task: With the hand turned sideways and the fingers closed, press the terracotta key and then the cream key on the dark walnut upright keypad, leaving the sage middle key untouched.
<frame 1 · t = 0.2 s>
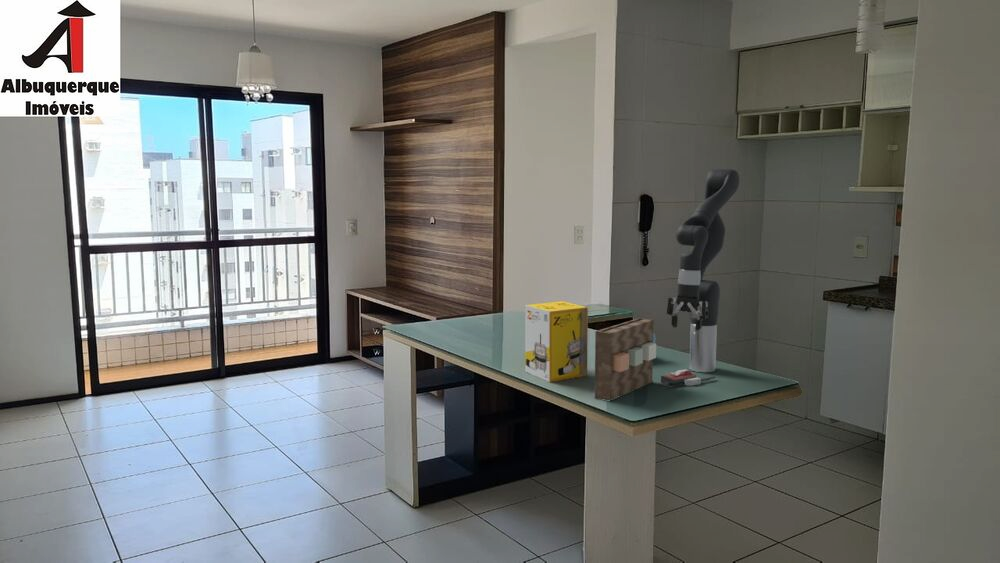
hand: (686, 328, 249), 18 cm above the table, tool pointing down, fingers open, 8 cm apart
packaging box: (555, 374, 258), on the table
terracotta key: (618, 361, 227), point 12 cm above the table, slide at 0.0 cm
decorative pot: (630, 359, 279), on the table
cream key: (646, 351, 241), point 12 cm above the table, slide at 0.0 cm
walkie-talkie: (687, 383, 246), on the table
sage key: (633, 356, 234), point 12 cm above the table, slide at 0.0 cm
keypad panel: (627, 390, 237), on the table
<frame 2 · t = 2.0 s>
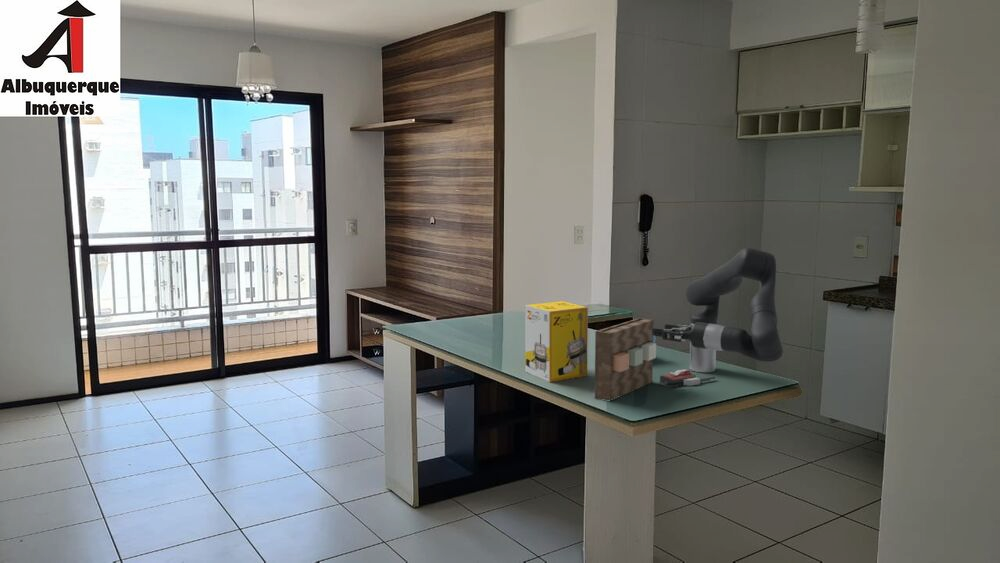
hand: (659, 329, 217), 24 cm above the table, tool horizontal, fingers open, 7 cm apart
nothing on the table moved.
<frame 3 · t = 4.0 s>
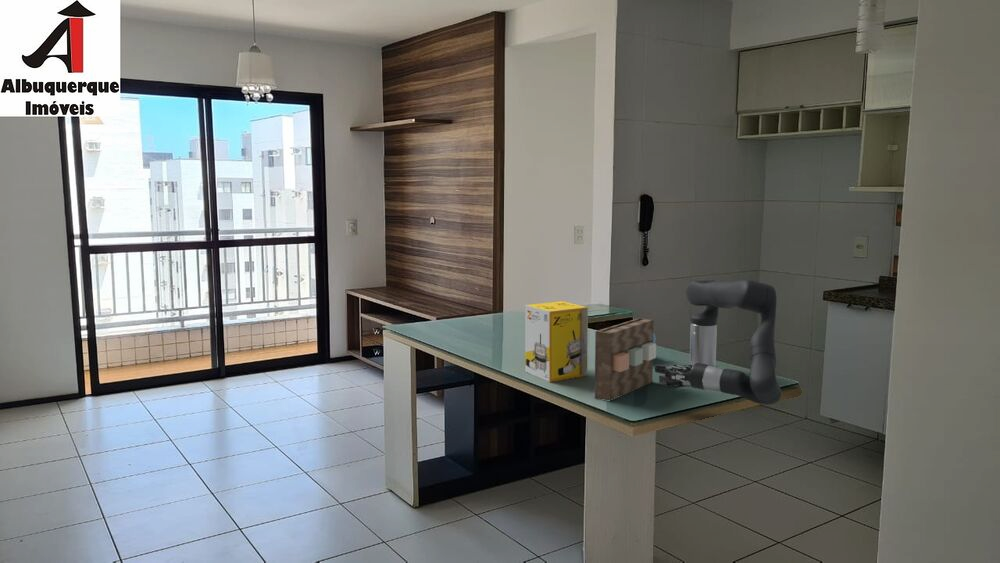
hand: (656, 368, 219), 12 cm above the table, tool horizontal, fingers closed
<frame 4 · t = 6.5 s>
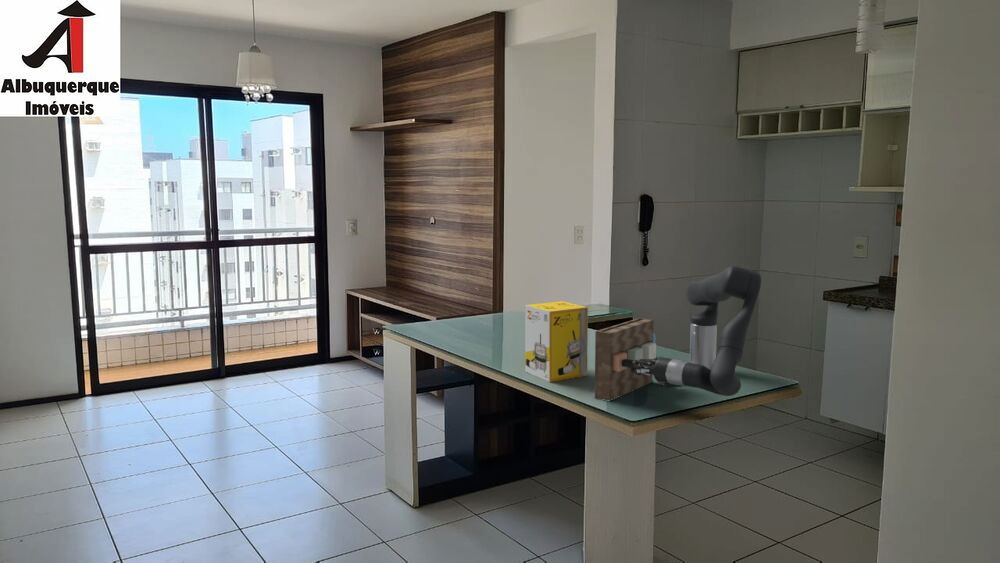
hand: (623, 362, 226), 12 cm above the table, tool horizontal, fingers closed
terracotta key: (616, 361, 228), point 12 cm above the table, slide at 0.8 cm, touching gripper
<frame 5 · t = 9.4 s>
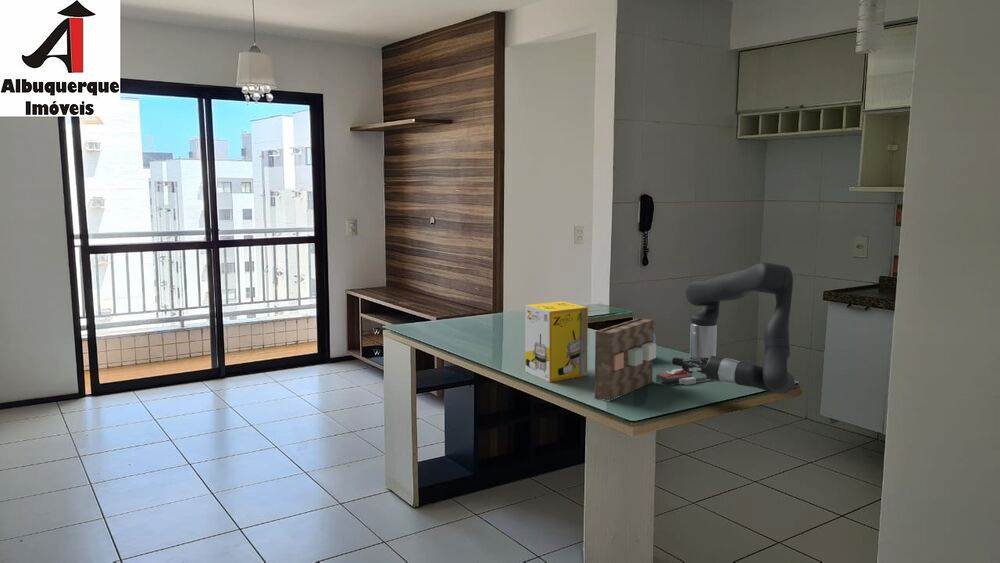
hand: (673, 360, 229), 12 cm above the table, tool horizontal, fingers closed
terracotta key: (613, 360, 229), point 12 cm above the table, slide at 2.0 cm
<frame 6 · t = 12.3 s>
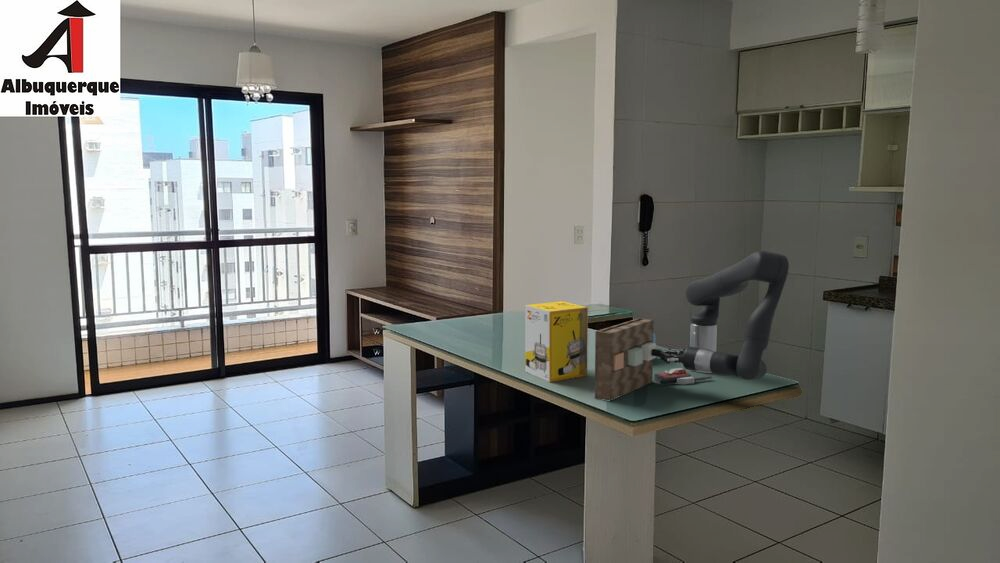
hand: (652, 352, 239), 12 cm above the table, tool horizontal, fingers closed
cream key: (646, 351, 241), point 12 cm above the table, slide at 0.0 cm, touching gripper
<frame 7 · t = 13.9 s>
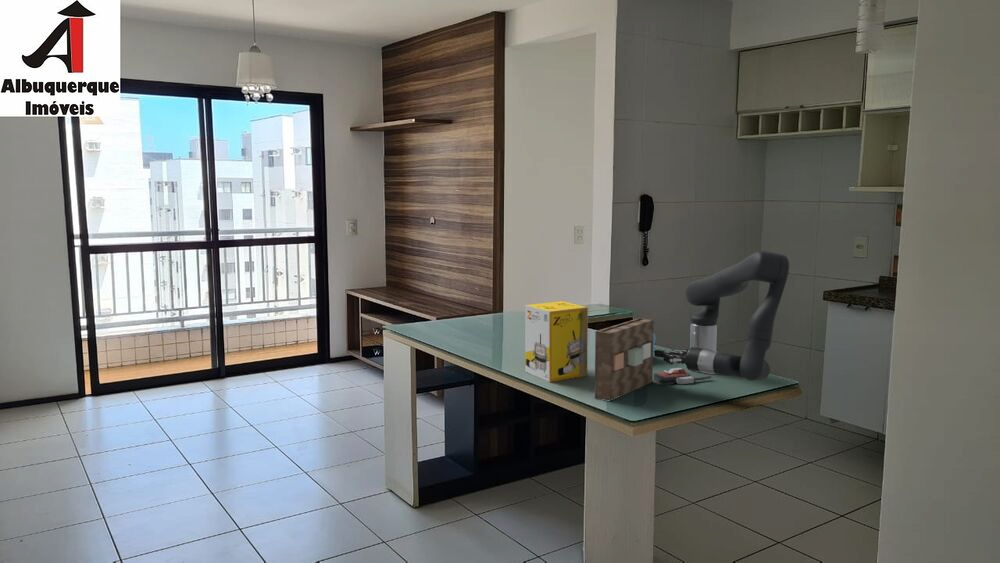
hand: (655, 352, 239), 12 cm above the table, tool horizontal, fingers closed
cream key: (641, 350, 242), point 12 cm above the table, slide at 2.0 cm
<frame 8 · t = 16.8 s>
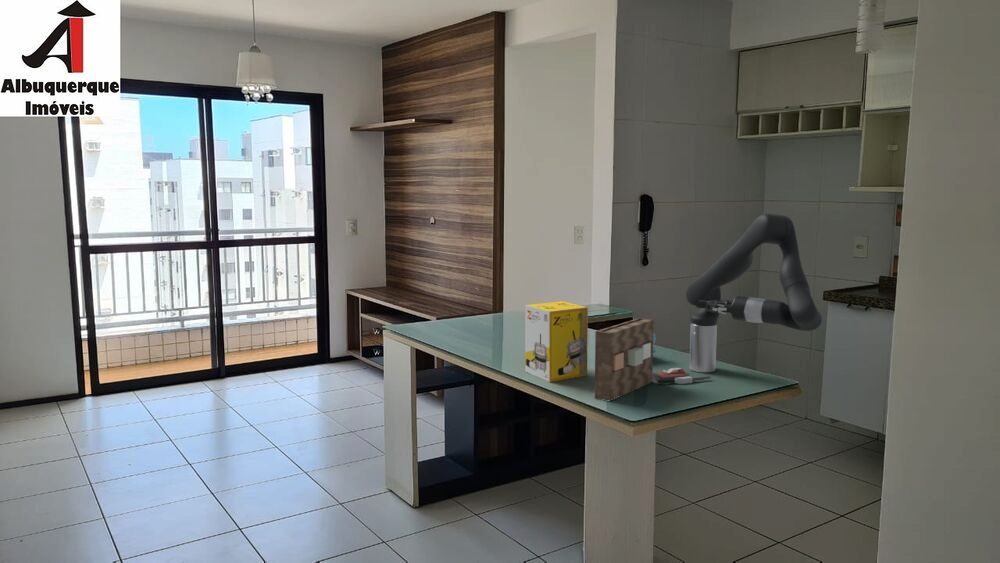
hand: (697, 303, 228), 30 cm above the table, tool horizontal, fingers closed
at the end: terracotta key slide at 2.0 cm; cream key slide at 2.0 cm; sage key slide at 0.0 cm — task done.
